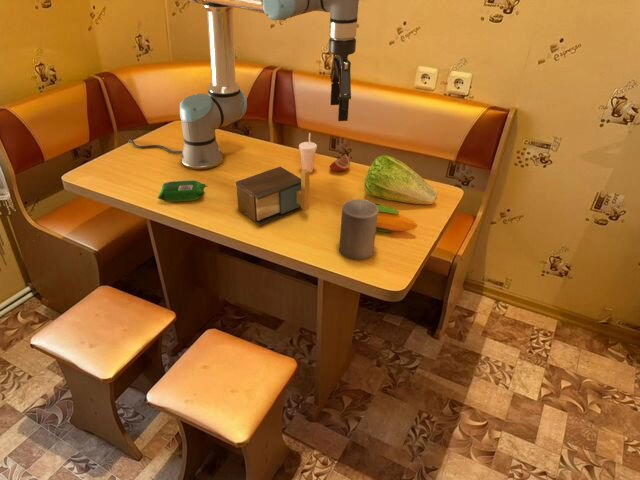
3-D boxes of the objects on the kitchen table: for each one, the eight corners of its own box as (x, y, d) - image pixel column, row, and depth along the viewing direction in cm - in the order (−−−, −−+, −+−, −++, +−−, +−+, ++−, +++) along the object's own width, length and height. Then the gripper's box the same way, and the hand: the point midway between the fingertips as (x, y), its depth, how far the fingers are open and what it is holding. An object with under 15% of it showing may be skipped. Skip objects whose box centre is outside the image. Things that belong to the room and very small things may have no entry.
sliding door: (280, 213, 154) (279, 172, 146) (300, 204, 158) (301, 164, 149) (289, 219, 151) (289, 178, 142) (310, 211, 155) (311, 170, 146)
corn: (355, 194, 149) (422, 206, 143) (353, 215, 154) (418, 228, 148) (347, 207, 144) (416, 221, 138) (346, 228, 149) (413, 242, 143)
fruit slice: (337, 163, 183) (338, 151, 180) (353, 168, 180) (354, 155, 177) (325, 172, 178) (326, 159, 175) (342, 177, 175) (342, 164, 171)
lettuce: (434, 204, 147) (450, 166, 151) (361, 178, 153) (378, 141, 156) (425, 224, 160) (440, 188, 164) (358, 200, 166) (375, 165, 170)
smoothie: (316, 174, 176) (317, 137, 168) (298, 174, 177) (298, 137, 168) (316, 166, 181) (317, 129, 173) (298, 166, 182) (298, 129, 173)
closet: (238, 209, 158) (235, 181, 152) (280, 193, 166) (280, 166, 160) (259, 226, 150) (258, 197, 144) (303, 208, 158) (304, 180, 152)
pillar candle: (335, 256, 138) (338, 209, 128) (344, 237, 145) (347, 192, 136) (369, 263, 135) (375, 216, 126) (377, 243, 142) (382, 197, 133)
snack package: (206, 202, 162) (204, 188, 159) (158, 204, 162) (155, 190, 158) (207, 192, 168) (206, 178, 165) (161, 194, 167) (158, 180, 164)
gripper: (365, 48, 129) (359, 127, 142) (347, 27, 148) (343, 98, 161) (337, 49, 128) (333, 128, 141) (322, 28, 148) (320, 99, 161)
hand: (338, 112), depth 151 cm, fingers open, 13 cm apart
